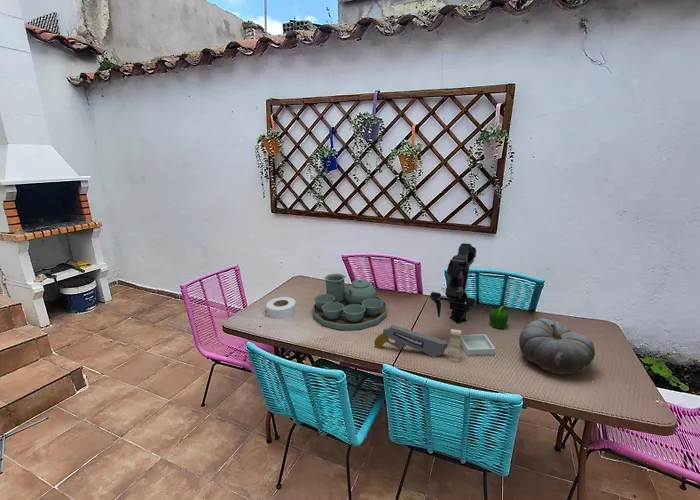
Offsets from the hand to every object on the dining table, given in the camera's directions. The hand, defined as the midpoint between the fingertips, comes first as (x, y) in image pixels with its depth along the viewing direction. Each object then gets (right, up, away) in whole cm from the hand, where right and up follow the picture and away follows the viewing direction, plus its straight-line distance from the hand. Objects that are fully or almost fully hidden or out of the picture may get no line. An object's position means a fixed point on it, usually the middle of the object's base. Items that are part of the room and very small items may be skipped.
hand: (449, 319), depth 146 cm
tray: (+12, -13, +2) cm, 18 cm away
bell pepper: (+29, -7, +19) cm, 36 cm away
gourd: (+39, -16, -9) cm, 43 cm away
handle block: (+1, -15, -5) cm, 16 cm away
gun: (-17, -14, +1) cm, 22 cm away
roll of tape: (-80, -5, +40) cm, 89 cm away
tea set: (-42, -4, +38) cm, 57 cm away
